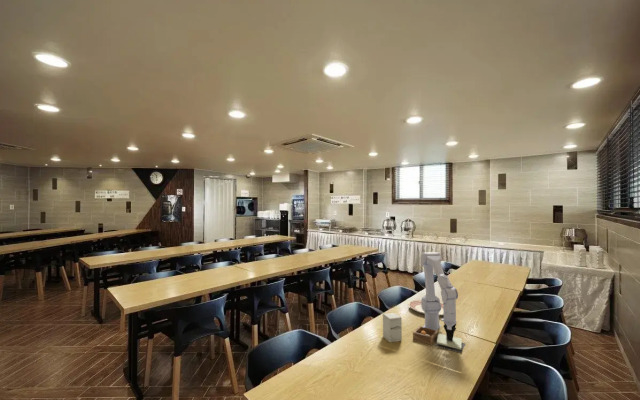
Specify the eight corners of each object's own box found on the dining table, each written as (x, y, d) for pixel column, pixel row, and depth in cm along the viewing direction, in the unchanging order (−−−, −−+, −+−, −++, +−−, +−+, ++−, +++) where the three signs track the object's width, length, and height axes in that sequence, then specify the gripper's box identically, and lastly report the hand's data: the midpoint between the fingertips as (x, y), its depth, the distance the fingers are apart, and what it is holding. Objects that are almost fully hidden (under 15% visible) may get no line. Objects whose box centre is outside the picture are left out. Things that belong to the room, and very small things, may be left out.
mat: (441, 337, 147) (441, 336, 147) (465, 344, 140) (465, 343, 140) (434, 346, 138) (434, 345, 138) (460, 354, 130) (460, 353, 131)
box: (419, 333, 153) (419, 326, 153) (438, 338, 146) (438, 330, 147) (412, 339, 145) (412, 332, 145) (432, 345, 139) (432, 337, 139)
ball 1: (421, 334, 150) (421, 329, 150) (427, 336, 148) (427, 330, 148) (419, 336, 148) (419, 331, 148) (425, 338, 146) (425, 332, 146)
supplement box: (389, 343, 141) (389, 318, 142) (382, 337, 148) (382, 313, 149) (402, 341, 143) (401, 317, 144) (394, 335, 150) (394, 312, 151)
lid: (438, 334, 147) (438, 326, 147) (461, 340, 141) (461, 331, 142) (436, 343, 137) (437, 334, 137) (461, 349, 132) (461, 340, 132)
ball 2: (425, 338, 146) (425, 332, 146) (431, 340, 144) (431, 334, 144) (423, 340, 143) (423, 334, 143) (429, 342, 141) (429, 336, 142)
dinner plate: (443, 304, 199) (443, 300, 199) (459, 319, 172) (458, 314, 172) (405, 303, 202) (405, 299, 202) (414, 318, 175) (414, 313, 175)
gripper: (442, 306, 148) (442, 331, 147) (440, 315, 135) (440, 343, 134) (456, 308, 145) (457, 334, 144) (455, 317, 132) (456, 346, 131)
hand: (450, 338), depth 139 cm, fingers closed on lid, 3 cm apart
